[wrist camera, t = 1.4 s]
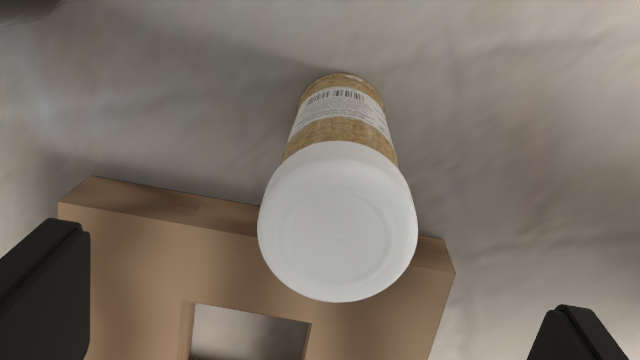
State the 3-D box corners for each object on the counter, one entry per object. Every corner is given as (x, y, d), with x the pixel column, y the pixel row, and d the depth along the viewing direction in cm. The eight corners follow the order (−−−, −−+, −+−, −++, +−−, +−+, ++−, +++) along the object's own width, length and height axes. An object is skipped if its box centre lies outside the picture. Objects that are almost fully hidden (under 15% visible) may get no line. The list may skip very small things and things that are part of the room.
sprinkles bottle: (290, 146, 27) (242, 292, 15) (306, 61, 26) (267, 145, 13) (374, 164, 27) (396, 322, 15) (395, 80, 26) (441, 181, 13)
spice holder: (443, 239, 29) (455, 273, 26) (381, 444, 35) (384, 492, 32) (90, 175, 29) (57, 201, 25) (88, 393, 35) (61, 437, 31)
